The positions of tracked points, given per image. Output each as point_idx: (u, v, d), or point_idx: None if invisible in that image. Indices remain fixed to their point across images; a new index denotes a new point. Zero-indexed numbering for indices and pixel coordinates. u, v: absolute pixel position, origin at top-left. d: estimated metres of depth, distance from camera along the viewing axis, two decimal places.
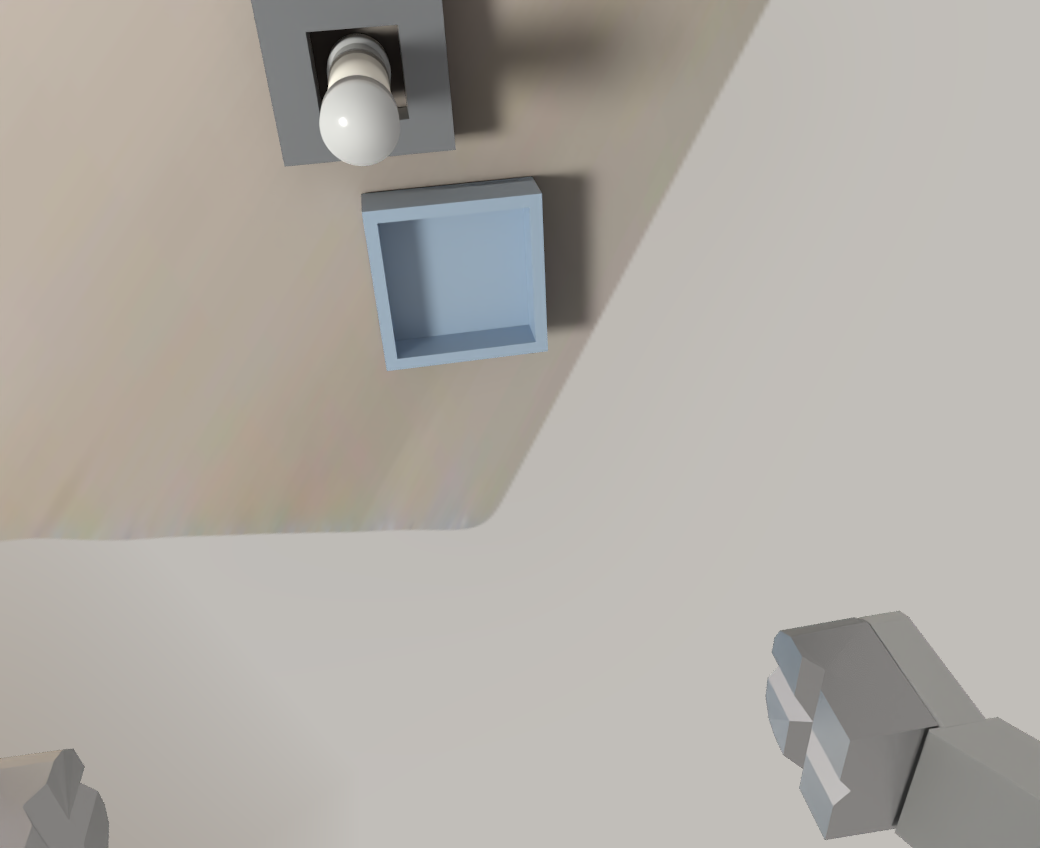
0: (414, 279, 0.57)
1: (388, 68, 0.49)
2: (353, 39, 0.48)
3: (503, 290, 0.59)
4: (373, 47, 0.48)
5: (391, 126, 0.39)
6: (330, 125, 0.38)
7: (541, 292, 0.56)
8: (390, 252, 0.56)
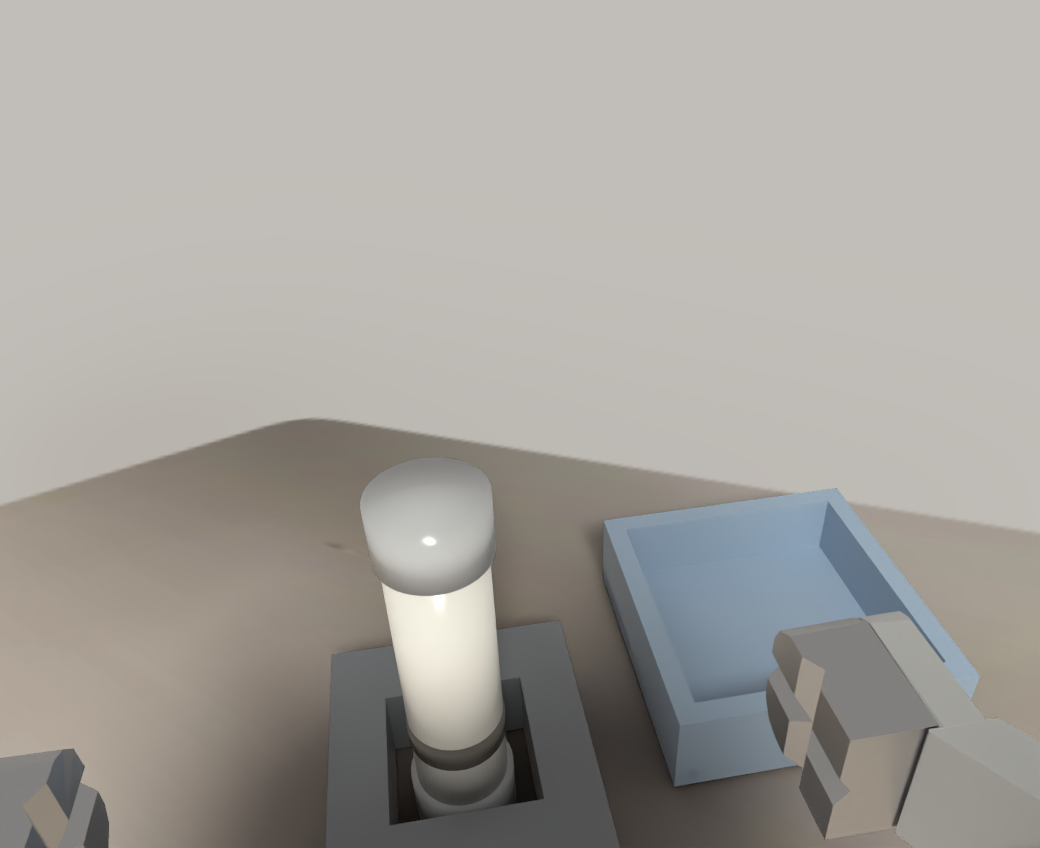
0: None
1: None
2: (412, 774, 0.30)
3: (775, 579, 0.38)
4: None
5: (428, 465, 0.25)
6: (424, 527, 0.22)
7: (747, 504, 0.39)
8: None
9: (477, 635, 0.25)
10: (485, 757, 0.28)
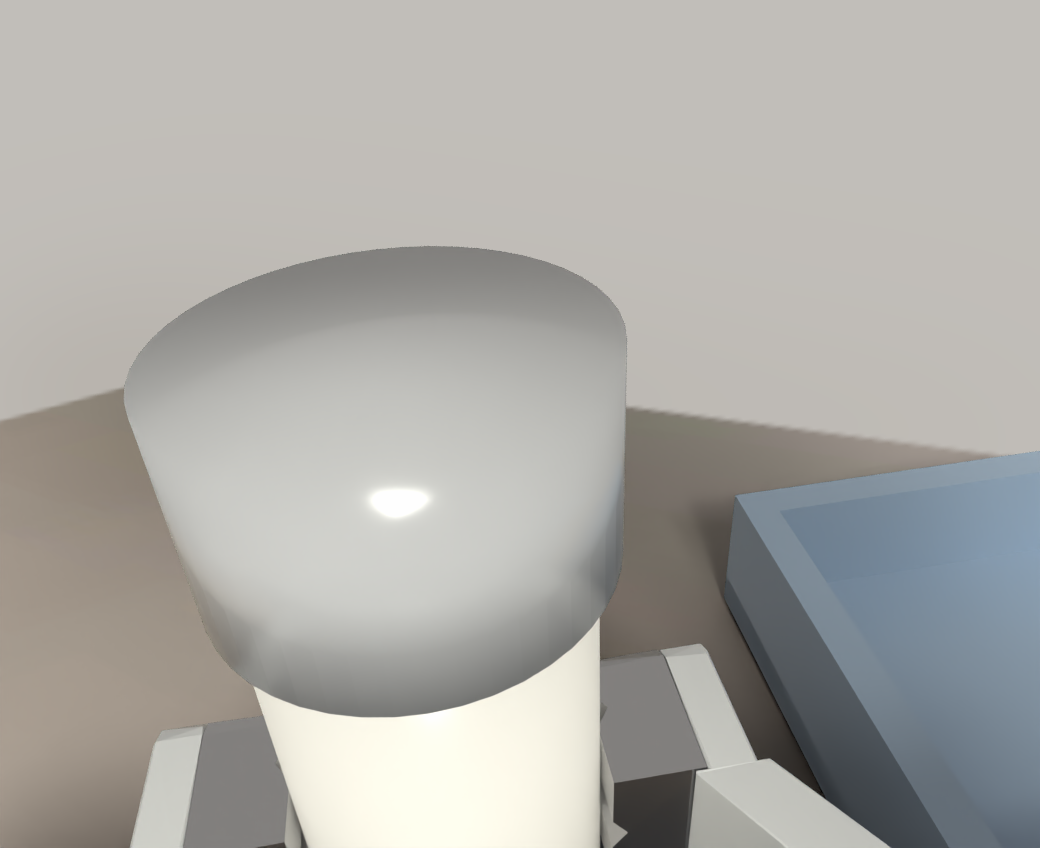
0: None
1: None
2: None
3: None
4: None
5: (393, 265, 0.07)
6: (365, 442, 0.05)
7: (989, 465, 0.22)
8: None
9: (558, 814, 0.08)
10: None
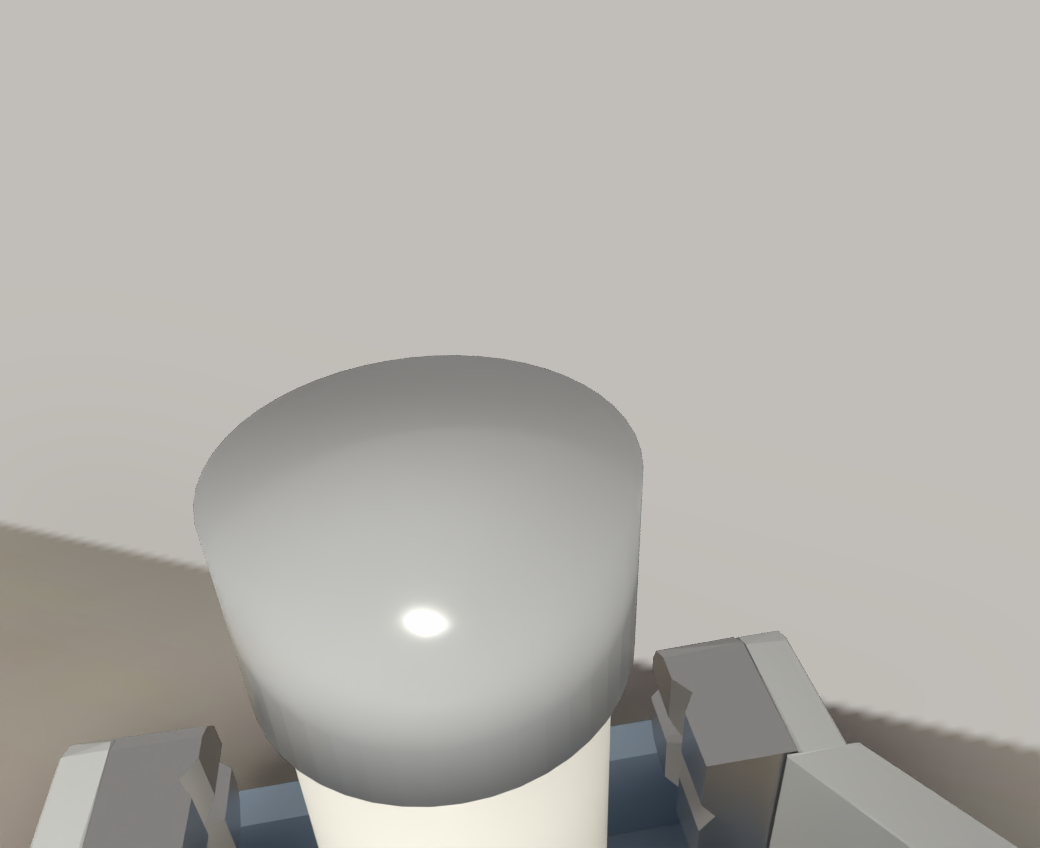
0: None
1: None
2: None
3: None
4: None
5: (427, 376, 0.08)
6: (415, 572, 0.06)
7: None
8: None
9: None
10: None
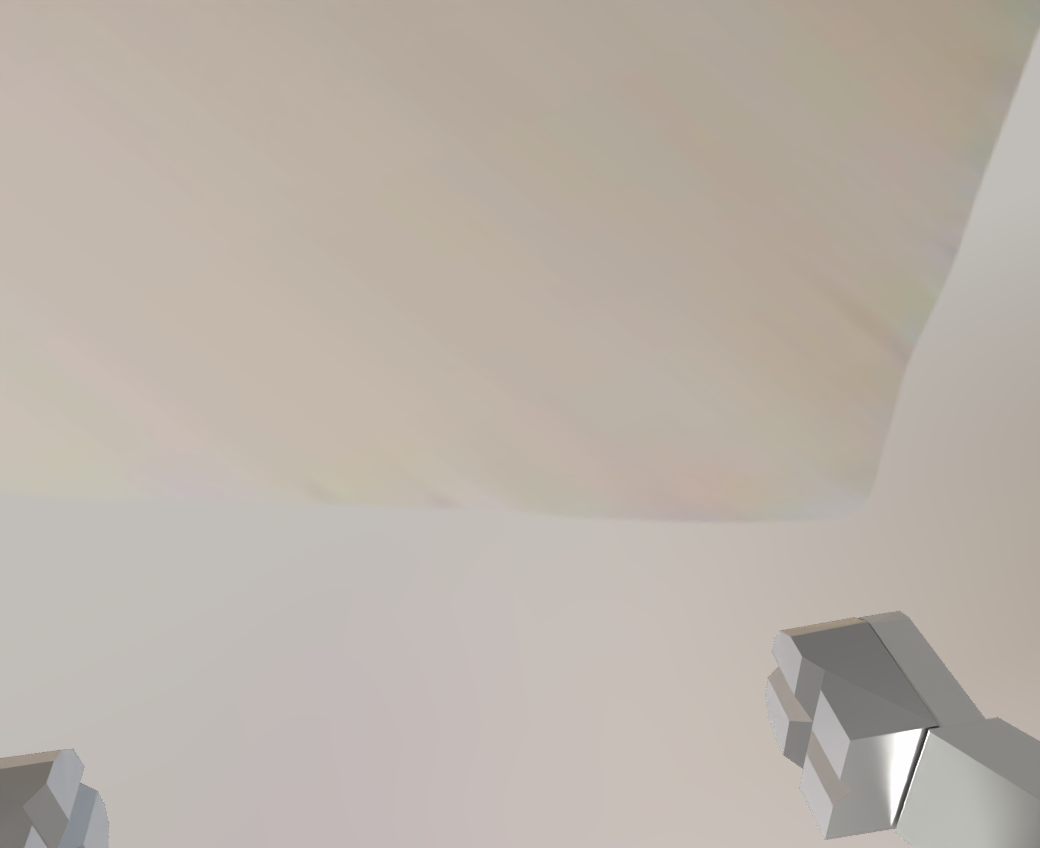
0: None
1: None
2: None
3: None
4: None
5: None
6: None
7: None
8: None
9: None
10: None
